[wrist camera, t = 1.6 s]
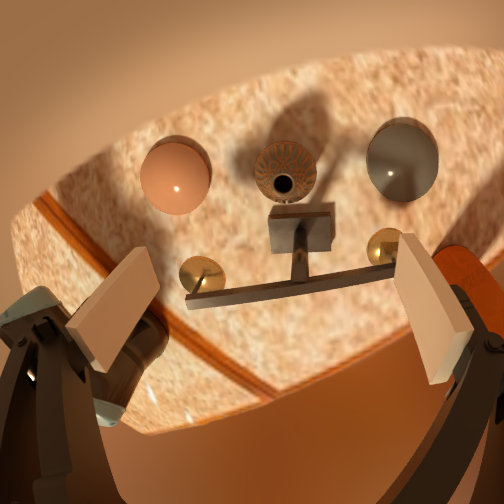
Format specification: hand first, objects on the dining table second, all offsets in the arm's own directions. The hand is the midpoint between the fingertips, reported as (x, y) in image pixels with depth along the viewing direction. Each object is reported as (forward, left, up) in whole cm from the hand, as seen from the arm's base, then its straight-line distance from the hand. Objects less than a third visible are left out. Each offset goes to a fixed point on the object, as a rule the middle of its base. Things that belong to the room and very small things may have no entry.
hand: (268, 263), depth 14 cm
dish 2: (+15, 0, -23) cm, 27 cm away
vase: (0, 0, -23) cm, 23 cm away
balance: (+1, -9, -23) cm, 24 cm away
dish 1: (-15, 0, -23) cm, 27 cm away
